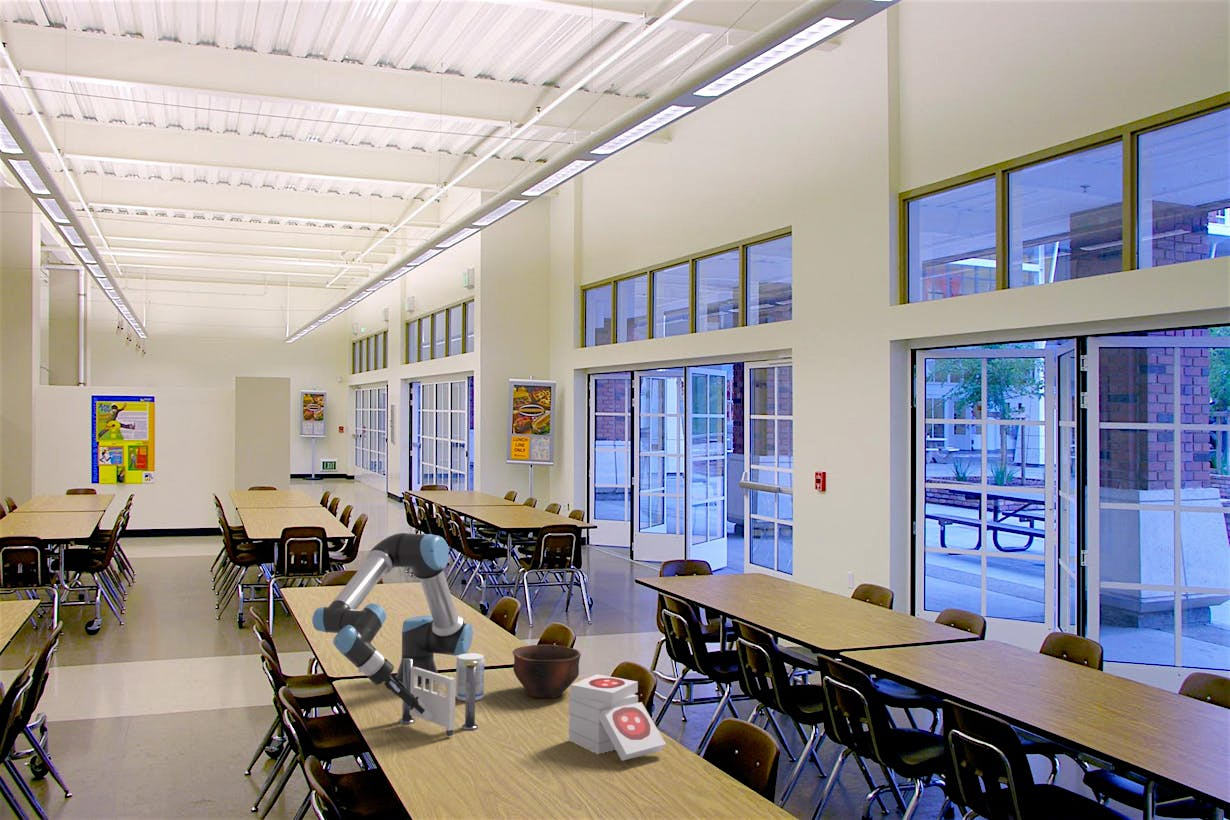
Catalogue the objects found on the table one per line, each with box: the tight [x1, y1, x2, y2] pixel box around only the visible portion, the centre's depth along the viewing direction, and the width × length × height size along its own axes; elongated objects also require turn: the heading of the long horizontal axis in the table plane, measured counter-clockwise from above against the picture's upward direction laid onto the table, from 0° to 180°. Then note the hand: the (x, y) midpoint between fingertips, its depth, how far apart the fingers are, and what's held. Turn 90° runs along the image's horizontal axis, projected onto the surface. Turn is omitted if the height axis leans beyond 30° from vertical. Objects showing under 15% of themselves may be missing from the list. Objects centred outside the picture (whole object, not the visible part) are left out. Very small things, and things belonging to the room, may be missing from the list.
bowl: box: [512, 644, 582, 699], centre depth 339 cm, size 25×25×15 cm
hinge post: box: [398, 658, 416, 725], centre depth 305 cm, size 5×5×20 cm
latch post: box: [461, 660, 479, 731], centre depth 300 cm, size 5×5×21 cm
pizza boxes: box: [568, 673, 667, 761], centre depth 285 cm, size 19×30×18 cm, turn 38°
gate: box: [410, 667, 456, 737], centre depth 297 cm, size 20×2×18 cm, turn 49°
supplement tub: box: [455, 652, 485, 702], centre depth 332 cm, size 10×10×15 cm
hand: (429, 717), depth 294 cm, fingers closed
